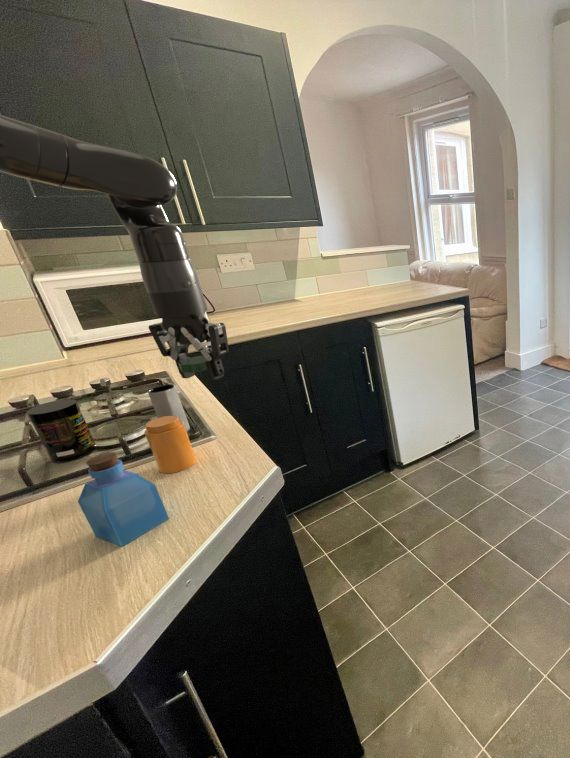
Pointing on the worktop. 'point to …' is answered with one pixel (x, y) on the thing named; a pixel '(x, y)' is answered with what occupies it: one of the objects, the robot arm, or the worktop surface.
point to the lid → (193, 364)
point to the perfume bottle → (119, 501)
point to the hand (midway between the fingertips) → (203, 377)
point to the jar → (170, 444)
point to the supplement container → (62, 430)
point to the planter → (167, 402)
